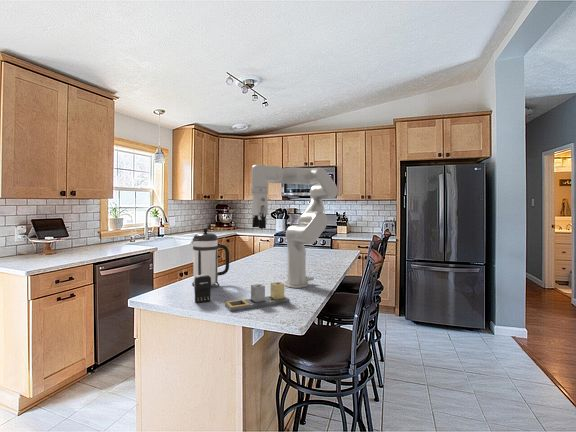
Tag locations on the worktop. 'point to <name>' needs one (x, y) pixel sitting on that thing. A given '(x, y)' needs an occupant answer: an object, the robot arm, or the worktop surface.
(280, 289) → the wooden block with knob
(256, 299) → the grey block with knob
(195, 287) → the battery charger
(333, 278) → the worktop surface
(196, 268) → the coffee press
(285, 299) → the grey block holder rack
